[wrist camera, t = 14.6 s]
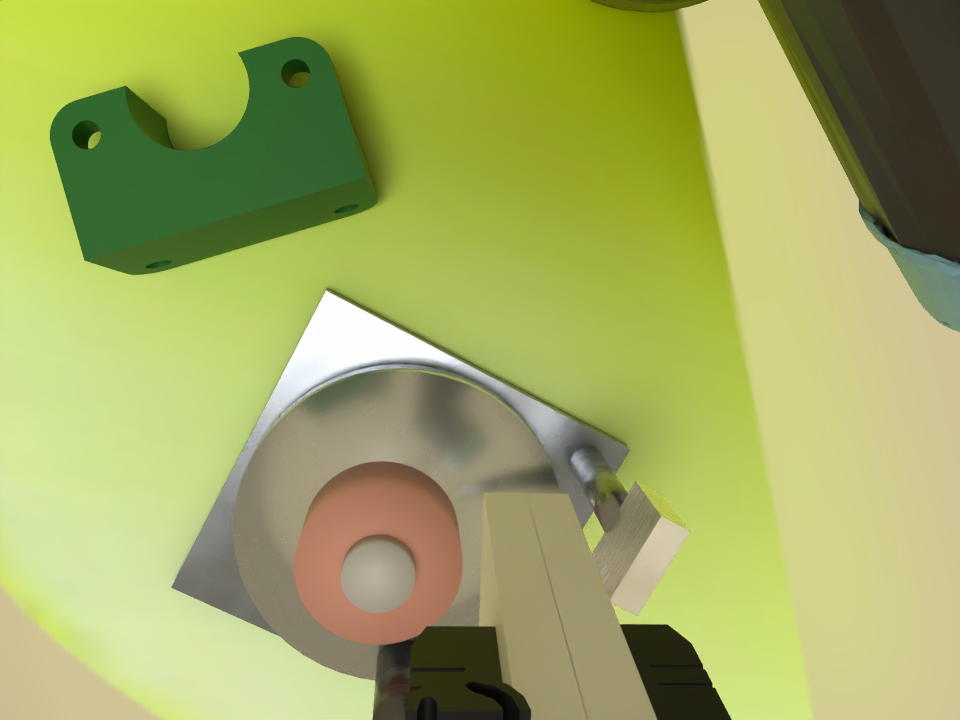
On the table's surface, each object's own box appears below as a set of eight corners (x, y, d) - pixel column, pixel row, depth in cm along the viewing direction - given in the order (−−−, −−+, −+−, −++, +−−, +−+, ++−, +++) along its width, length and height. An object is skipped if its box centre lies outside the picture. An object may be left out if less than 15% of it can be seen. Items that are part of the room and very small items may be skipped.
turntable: (231, 365, 40) (190, 410, 33) (562, 362, 41) (596, 404, 34) (247, 672, 43) (213, 776, 36) (554, 662, 44) (583, 760, 37)
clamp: (314, 113, 43) (364, 23, 35) (350, 231, 43) (408, 169, 35) (48, 153, 38) (32, 59, 30) (87, 286, 38) (81, 229, 30)
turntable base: (330, 282, 41) (297, 330, 29) (629, 439, 43) (711, 542, 31) (175, 580, 43) (85, 737, 31) (467, 711, 46) (486, 902, 34)
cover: (301, 462, 40) (287, 498, 35) (459, 459, 40) (464, 495, 36) (306, 607, 41) (293, 660, 37) (458, 603, 42) (463, 654, 37)
